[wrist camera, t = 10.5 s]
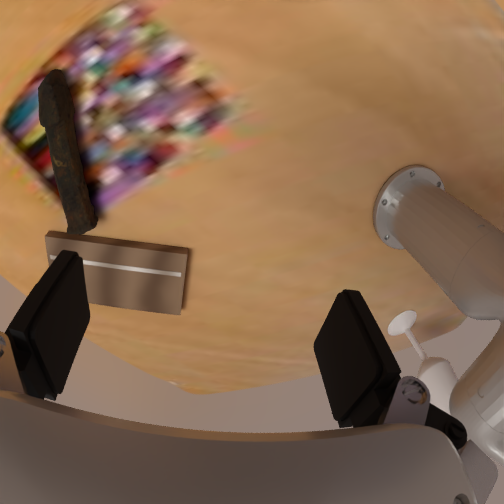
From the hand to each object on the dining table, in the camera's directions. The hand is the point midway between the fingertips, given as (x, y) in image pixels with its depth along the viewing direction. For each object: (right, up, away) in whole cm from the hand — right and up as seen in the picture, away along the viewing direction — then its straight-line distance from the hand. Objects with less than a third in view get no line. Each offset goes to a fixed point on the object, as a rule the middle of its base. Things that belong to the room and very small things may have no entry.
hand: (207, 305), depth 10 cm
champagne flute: (+30, -12, +41) cm, 53 cm away
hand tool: (-19, +14, +18) cm, 30 cm away
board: (-17, -1, +27) cm, 31 cm away
